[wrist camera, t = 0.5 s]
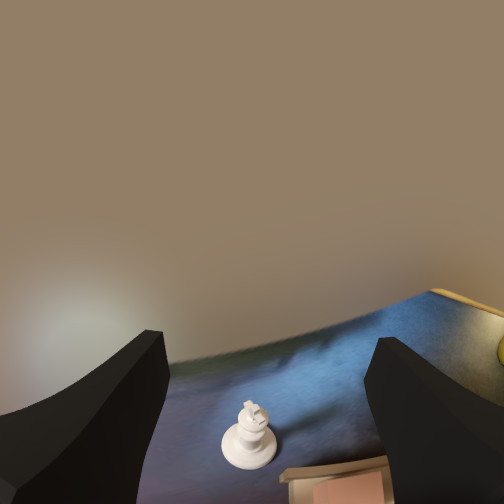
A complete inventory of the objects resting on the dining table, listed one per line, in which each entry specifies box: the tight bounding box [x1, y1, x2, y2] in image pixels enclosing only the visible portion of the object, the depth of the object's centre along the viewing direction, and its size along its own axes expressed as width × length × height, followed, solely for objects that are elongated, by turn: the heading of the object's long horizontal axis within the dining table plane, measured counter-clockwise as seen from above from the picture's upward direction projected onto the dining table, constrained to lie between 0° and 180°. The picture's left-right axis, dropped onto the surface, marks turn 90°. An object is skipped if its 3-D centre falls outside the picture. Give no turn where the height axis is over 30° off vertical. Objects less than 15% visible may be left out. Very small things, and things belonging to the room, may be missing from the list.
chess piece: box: [222, 400, 277, 469], centre depth 18 cm, size 5×5×10 cm
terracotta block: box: [313, 471, 385, 504], centre depth 13 cm, size 4×4×4 cm
